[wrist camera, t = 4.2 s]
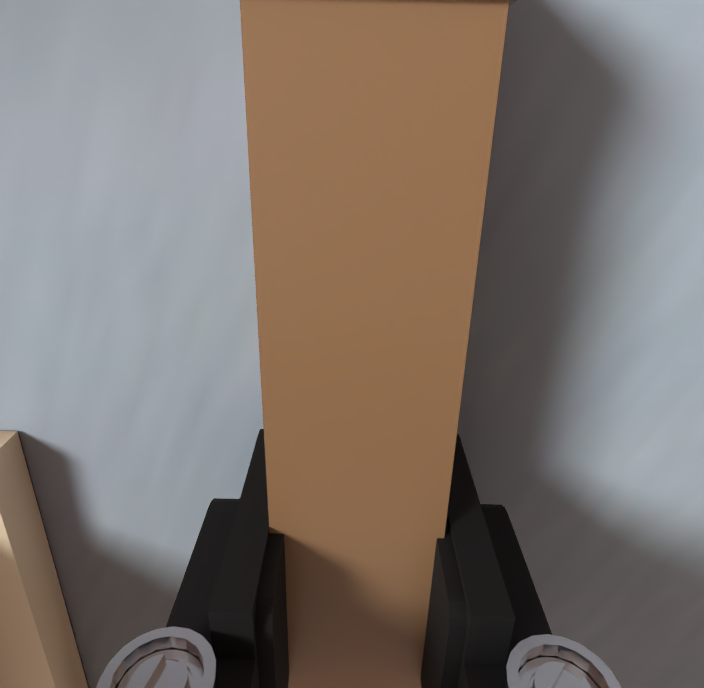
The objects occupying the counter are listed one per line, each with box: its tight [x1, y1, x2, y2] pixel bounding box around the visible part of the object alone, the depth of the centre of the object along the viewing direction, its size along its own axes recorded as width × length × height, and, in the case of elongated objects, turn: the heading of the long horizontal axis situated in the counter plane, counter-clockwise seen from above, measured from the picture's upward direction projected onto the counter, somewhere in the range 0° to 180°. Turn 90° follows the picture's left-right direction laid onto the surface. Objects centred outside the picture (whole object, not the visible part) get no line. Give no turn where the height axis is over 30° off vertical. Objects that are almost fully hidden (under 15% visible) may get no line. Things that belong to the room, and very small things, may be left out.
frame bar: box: [240, 0, 516, 688], centre depth 9 cm, size 18×3×3 cm, turn 179°
